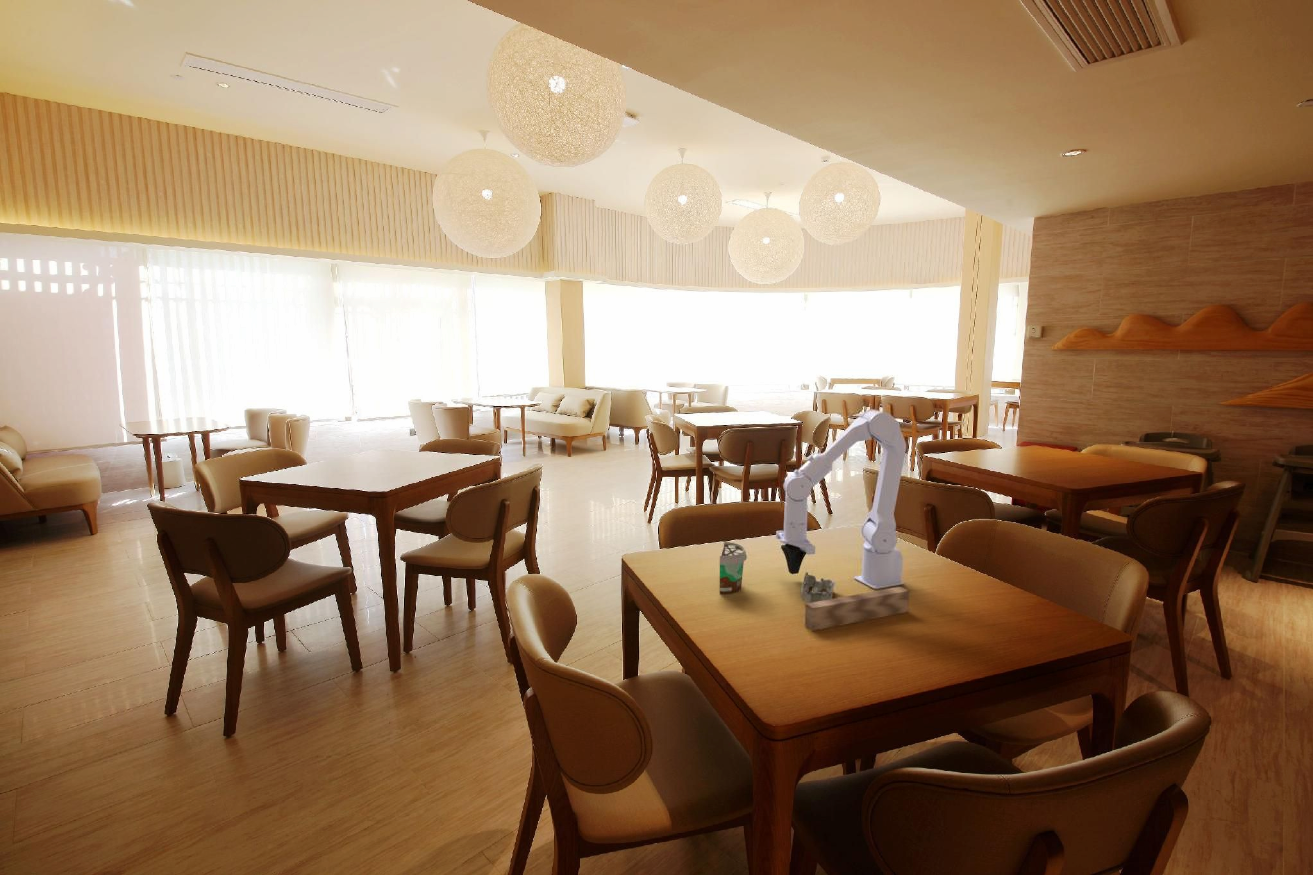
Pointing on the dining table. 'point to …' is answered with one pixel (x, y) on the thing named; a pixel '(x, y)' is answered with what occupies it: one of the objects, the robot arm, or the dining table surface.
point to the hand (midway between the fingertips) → (793, 572)
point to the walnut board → (856, 608)
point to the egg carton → (816, 589)
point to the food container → (731, 568)
